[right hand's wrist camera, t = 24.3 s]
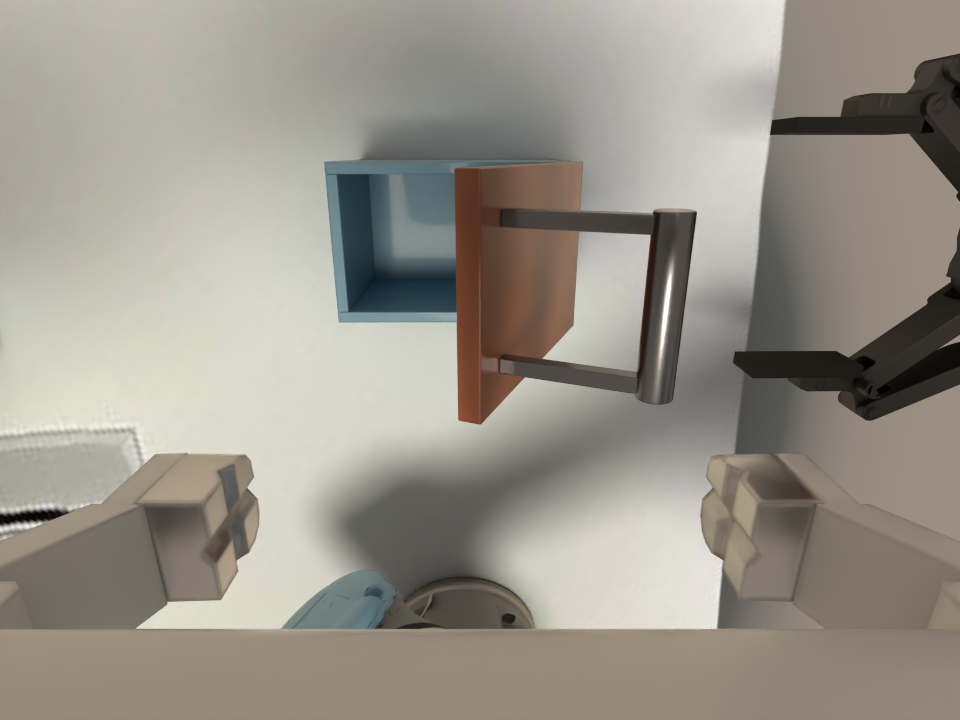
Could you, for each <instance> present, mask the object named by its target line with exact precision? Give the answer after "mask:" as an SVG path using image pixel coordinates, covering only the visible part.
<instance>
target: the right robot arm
mask: <svg viewBox="0 0 960 720" xmlns="http://www.w3.org/2000/svg"><path fill="white" fill-rule="evenodd" d="M253 478H254V474H253V469H252V464H251V460H250V459H249V458H248V457H247V456H246V455H238V454H188V453H168V454H156V455H154V456H153V457H152V458H151V459H150V460H148V461H147V462H146V463H145V464H144V465H143V466H142V467H141V468H140V469H139V470H138V471H136V472H135V473H134V474H133V475H132V476H131V477H130V478H129V479H128V480H127V481H125V482H124V483H123V484H122V485H121V486H120V487H119V488H118V489H117V490H116V491H114V492H113V493H112V494H111V495H110V496H109V497H108V498H107V499H106V500H105V501H104V502H102V503H101V504H90V505H88V506H85V507H83V508H80V509H78V510H76V511H73V512H71V513H68V514H66V515H63V516H61V517H58V518H56V519H54V520H51V521H49V522H46V523H44V524H41V525H39V526H37V527H34V528H32V529H29V530H27V531H24V532H22V533H20V534H17V535H15V536H12V537H10V538H7V539H5V540H2V541H0V720H960V541H957V540H955V539H952V538H950V537H948V536H945V535H943V534H940V533H938V532H935V531H933V530H930V529H928V528H926V527H923V526H921V525H918V524H916V523H914V522H911V521H909V520H906V519H904V518H901V517H899V516H897V515H894V514H892V513H889V512H887V511H884V510H882V509H880V508H877V507H875V506H872V505H870V504H859V503H858V502H857V501H855V500H854V499H853V498H852V497H851V496H850V495H849V494H848V493H847V492H846V491H845V490H843V489H842V488H841V487H840V486H839V485H838V484H837V483H836V482H835V481H834V480H832V479H831V478H830V477H829V476H828V475H827V474H826V473H825V472H824V471H823V470H822V469H820V468H819V467H818V466H817V465H816V464H815V463H814V462H813V461H812V460H811V459H809V458H808V457H807V456H806V455H803V454H800V453H783V454H737V455H715V456H712V457H711V459H710V461H709V464H708V468H707V474H706V478H707V479H708V481H709V483H710V484H711V486H712V487H713V488H712V489H711V491H710V492H709V493H708V494H707V495H706V496H705V497H704V498H703V499H702V507H701V515H700V516H701V526H702V533H703V536H704V539H705V542H706V544H707V546H708V548H709V549H710V551H711V553H713V554H714V555H716V556H717V557H719V558H721V559H722V560H724V561H723V567H722V572H723V574H724V575H725V577H726V579H727V580H728V582H729V584H730V586H731V587H732V589H733V591H734V592H735V594H736V596H737V597H738V599H739V600H753V601H788V602H793V605H795V606H796V607H797V608H799V609H800V610H801V611H803V612H804V613H805V614H806V615H808V616H809V617H811V618H812V619H813V620H814V621H816V622H817V623H819V624H820V625H821V626H822V627H824V628H825V629H135V628H136V627H138V626H139V625H140V624H142V623H143V622H144V621H146V620H147V619H148V618H150V617H151V616H152V615H154V614H155V613H156V612H158V611H159V610H160V609H162V608H163V607H164V606H166V605H167V602H172V601H207V600H221V599H222V598H223V596H224V594H225V592H226V591H227V589H228V587H229V586H230V584H231V582H232V580H233V579H234V577H235V575H236V574H237V572H238V567H237V562H236V560H238V559H239V558H241V557H243V556H244V555H246V554H247V553H249V551H250V549H251V548H252V546H253V544H254V542H255V539H256V535H257V531H258V527H259V505H258V499H257V498H256V497H255V496H254V495H253V494H252V493H251V492H250V491H249V489H248V488H247V487H248V486H249V484H250V483H251V481H252V479H253Z"/></svg>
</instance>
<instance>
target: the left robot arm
mask: <svg viewBox="0 0 960 720" xmlns="http://www.w3.org/2000/svg"><path fill="white" fill-rule="evenodd" d="M914 78H915V83H914V85H913V86H912V88H911V89H910V90H909V91H908V92H907V93H890V94H889V93H882V94H881V93H871V94H864V95H858V96H853V97H851V98H848V99H846V100H844V102H843V107H842V112H841V117H795V118H787V119H778V120H772V126H771V132H770V135H889V134H908V133H909V134H910V135H911V137H912V138H913V139H914V140H915V141H916V142H917V144H918V145H919V146H920V147H921V148H922V150H923V151H924V152H925V153H926V154H927V155H928V157H929V158H930V159H931V160H932V161H933V163H934V164H935V165H936V166H937V167H938V168H939V170H940V171H941V172H942V173H943V174H944V176H945V177H946V178H947V179H948V180H949V181H950V183H951V184H952V185H953V186H954V187H955V189H956V190H957V191H958V194H957V195H956V196H957V198H958V200H959V201H960V54H956V55H951V56H947V57H942V58H937V59H932V60H928V61H924V62H922V63H921V64H920V65H919V66H918V67H917V68H916V71H915V74H914ZM946 276H947V277H951V282H950V283H949V284H947V285H946V286H945V287H943V288H942V289H940V290H939V291H937V292H936V293H934V294H933V295H931V296H930V297H929V298H928V300H927V301H928V303H927V305H926V306H924V307H923V308H921V309H920V310H918V311H917V312H915V313H914V314H912V315H911V316H909V317H908V318H906V319H905V320H904V321H902V322H901V323H899V324H898V325H896V326H895V327H893V328H892V329H890V330H889V331H887V332H886V333H884V334H883V335H882V336H880V337H878V338H877V339H876V340H874V341H873V342H871V343H870V344H868V345H867V346H865V347H864V348H862V349H861V350H859V351H858V352H856V353H855V354H853V355H852V356H850V357H849V358H848V357H846V356H844V355H842V354H840V353H839V352H837V351H754V352H735V354H734V360H733V363H734V364H735V365H737V366H738V367H739V368H741V369H742V370H743V371H744V372H746V373H747V374H748V375H750V376H751V377H752V378H788V380H789V381H790V382H791V383H793V384H794V385H796V386H797V387H799V388H800V389H803V390H805V391H841V392H840V393H839V395H838V401H839V402H840V403H841V404H843V405H844V406H845V407H847V408H848V409H850V410H851V411H853V412H854V413H856V414H857V415H859V416H860V417H862V418H863V419H865V420H868V421H871V420H874V419H877V418H879V417H882V416H884V415H887V414H889V413H891V412H894V411H896V410H899V409H901V408H904V407H906V406H908V405H911V404H913V403H916V402H918V401H921V400H923V399H925V398H928V397H930V396H933V395H935V394H938V393H940V392H942V391H945V390H947V389H950V388H952V387H955V386H957V385H959V384H960V342H958V343H954V344H951V345H948V346H945V347H943V348H940V347H942V346H943V345H945V344H946V343H948V342H949V341H951V340H952V339H954V338H955V337H957V336H958V335H960V229H959V233H958V236H957V251H956V253H955V255H954V257H953V259H952V261H951V262H950V265H949V268H948V272H947V275H946ZM939 348H940V349H939ZM937 349H938V350H937ZM281 629H534V625H533V621H532V618H531V615H530V613H529V611H528V610H527V608H526V607H525V605H524V604H523V603H522V602H521V601H520V599H519V598H517V597H516V596H515V595H514V594H513V593H511V592H510V591H508V590H507V589H505V588H503V587H501V586H499V585H497V584H494V583H492V582H488V581H485V580H480V579H474V578H451V579H445V580H440V581H437V582H434V583H431V584H428V585H426V586H424V587H422V588H420V589H419V590H417V591H416V592H414V593H413V594H412V595H410V596H409V597H408V598H407V599H406V600H405V601H404V602H403V601H402V600H401V599H400V597H399V596H398V595H397V590H396V588H395V586H394V585H393V584H389V583H388V582H387V581H386V580H385V579H384V578H383V577H382V576H381V575H380V574H379V573H377V572H375V571H371V570H362V571H357V572H353V573H350V574H348V575H346V576H344V577H342V578H340V579H338V580H336V581H334V582H333V583H332V584H330V585H329V586H327V587H325V588H324V589H322V590H321V591H320V592H318V593H317V594H316V595H315V596H313V597H312V598H311V599H310V600H309V601H308V602H306V603H305V604H304V605H303V606H302V607H301V608H300V609H299V610H298V611H297V612H296V613H295V614H294V615H293V616H292V617H291V618H290V619H289V620H288V621H287V622H286V623H285V625H284V626H283V627H282V628H281Z"/></svg>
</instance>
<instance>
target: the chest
mask: <svg viewBox="0 0 960 720" xmlns="http://www.w3.org/2000/svg"><path fill="white" fill-rule="evenodd" d="M553 162H570V161H560V160H552V159H516V160H349V161H332V162H325V163H324V164H325V174H326V186H327V197H328V208H329V219H330V230H331V241H332V252H333V263H334V274H335V285H336V296H337V307H338V317H339V322H457V300H456V237H455V174H454V170H455V168H462V167H480V166H498V165H516V164H535V163H553Z"/></svg>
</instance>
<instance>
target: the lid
mask: <svg viewBox="0 0 960 720" xmlns="http://www.w3.org/2000/svg"><path fill="white" fill-rule="evenodd" d="M582 169H583V162H553V163H535V164H516V165H498V166H480V167H462V168H455V170H454V174H455V237H456V300H457V363H458V420H459V421H464V422H469V423H475V424H482V423H483V422H484V421H485V419H486V418H487V417H488V416H489V415H490V414H491V413H492V412H493V411H494V410H495V409H496V408H497V407H498V406H499V404H500V403H501V402H502V401H503V400H504V399H505V398H506V397H507V396H508V395H509V394H510V393H511V392H512V391H513V389H514V388H515V387H516V386H517V385H518V384H519V383H520V382H521V381H522V380H523V379H524V378H525V377H528V378H535V379H541V380H548V381H554V382H561V383H567V384H574V385H580V386H587V387H594V388H600V389H607V390H613V391H620V392H626V393H633V394H635V397H636V398H637V399H638V400H640V401H642V402H645V403H649V404H667V403H670V402H671V401H672V400H673V394H674V386H675V378H676V371H677V363H678V355H679V347H680V340H681V332H682V324H683V316H684V308H685V301H686V293H687V285H688V277H689V270H690V262H691V254H692V246H693V238H694V231H695V223H696V215H697V212H696V211H694V210H689V209H656V210H654V211H653V213H635V212H608V211H581V210H580V203H581V186H582ZM579 231H585V232H605V233H625V234H644V235H651V239H650V248H649V258H648V268H647V278H646V287H645V297H644V307H643V317H642V327H641V336H640V346H639V356H638V366H637V372H632V371H624V370H617V369H610V368H603V367H596V366H588V365H581V364H574V363H567V362H560V361H552V360H545V359H542V358H543V357H544V356H545V355H546V354H547V353H548V352H549V351H550V350H551V349H552V348H553V347H554V346H555V344H556V343H557V342H558V341H559V340H560V339H561V338H562V337H563V336H564V335H565V334H566V333H567V332H568V331H569V329H570V328H571V327H572V326H573V322H574V305H575V288H576V271H577V254H578V237H579Z"/></svg>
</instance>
